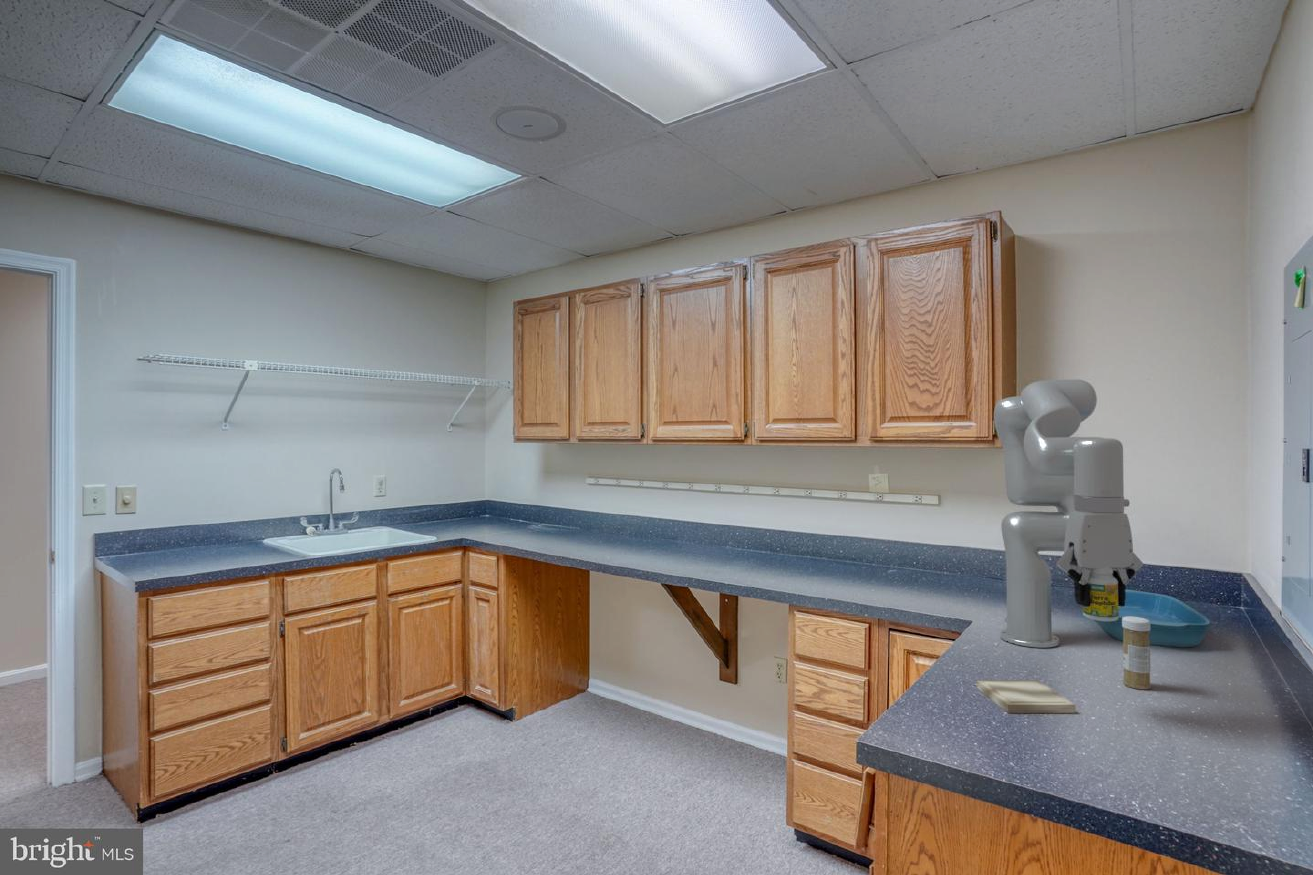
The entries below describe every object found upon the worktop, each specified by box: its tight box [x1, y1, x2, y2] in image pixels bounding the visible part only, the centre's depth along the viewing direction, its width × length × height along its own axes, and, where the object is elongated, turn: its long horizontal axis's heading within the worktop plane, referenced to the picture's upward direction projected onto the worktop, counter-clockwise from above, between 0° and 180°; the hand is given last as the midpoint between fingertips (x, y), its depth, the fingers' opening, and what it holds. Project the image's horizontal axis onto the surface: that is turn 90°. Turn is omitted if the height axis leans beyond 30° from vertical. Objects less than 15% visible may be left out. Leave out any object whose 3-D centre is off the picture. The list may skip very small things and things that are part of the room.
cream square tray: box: [976, 679, 1076, 714], centre depth 123 cm, size 12×12×2 cm
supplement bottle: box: [1082, 567, 1119, 621], centre depth 119 cm, size 6×5×10 cm
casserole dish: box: [1095, 588, 1211, 648], centre depth 168 cm, size 37×22×7 cm, turn 158°
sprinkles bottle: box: [1122, 616, 1152, 690], centre depth 130 cm, size 5×5×14 cm
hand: (1099, 603), depth 119 cm, fingers closed on supplement bottle, 5 cm apart
